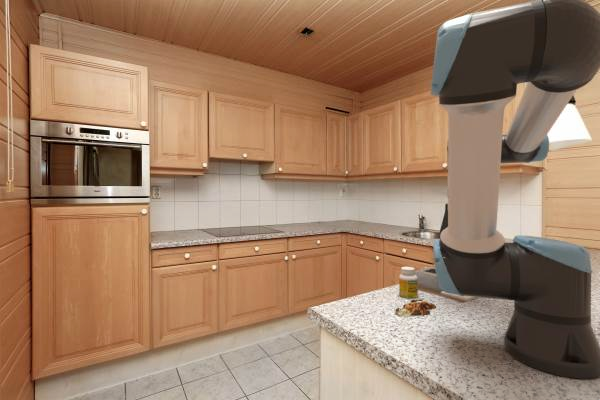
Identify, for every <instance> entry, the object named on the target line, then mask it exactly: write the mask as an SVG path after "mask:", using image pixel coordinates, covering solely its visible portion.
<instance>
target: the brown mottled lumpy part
mask: <svg viewBox="0 0 600 400" xmlns="http://www.w3.org/2000/svg"><path fill="white" fill-rule="evenodd" d="M435 309H437V305H435V304H434V303H432V302H428V301H427V300H426V299H425V298H423V297H421V298H415V299H410V302H406V303H404V304H403V306H402V307H396V308H395V311H394V315H397V316H403V318H410V317H411V316H412V314H413V315H414V314H419V313H420V315H421V317H425V315H426V316H430V315H431V310H435Z"/></svg>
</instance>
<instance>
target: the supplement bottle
mask: <svg viewBox="0 0 600 400" xmlns="http://www.w3.org/2000/svg"><path fill="white" fill-rule="evenodd" d="M415 270H416V269H415V267H413V266H402V267H400V272H401V274H399V276H398V282H399V283H398V286H399V287H398V289H399V296H400V297H401V298H402V299H403V298H404V299H410V300H413V299H415V300H416V299H418V298H419V297H418V296H419V295H418V294H419V293H418V291H419V290H418V280H417V276H416V275H415V274H414V273H415Z"/></svg>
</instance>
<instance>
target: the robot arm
mask: <svg viewBox="0 0 600 400" xmlns="http://www.w3.org/2000/svg"><path fill="white" fill-rule="evenodd" d="M432 68H433V69H432V77H431V85H430V86H431V87H430V95H432V96H435V97H437V96H438V99H439V104H438V105H439V106H440V108H442V109H443V110H444V111H445V112H447V114H448V119H447V122H448V123H447V126H448V127H447V128H448V129H447V133H448V134H447V136H448V139H447V144H446V153H447V157H446V158H447V159H446V161H447V203H445V204H444V205H445V207H444V214H443V216H442V221H441V225H440V229H439V237H440V238H438V239H434V240H433V242H432V246H433V258H434V267H435V269H436V275H437V280H438V284H439V287H440V288H441V289H442V290H443V291H444V292H446V293H450V294H456V295H460V296H464V295H465V296H474V297H476V298H484V299H485V298H486V299H493V300H494V299H496V300H504V301H513V302H514V303H513V304H514V307H513V309H514V310H513V312H512V316H511V319H510V321H509V324H508V326H507V327H506V331H505V333H504V339H503V340H504V341H503V342H504V346H503V347H504V349H505V351H506V352H507V353H508V354H509V355H511V357H513V358H514V359H516V360H518V361H519V362H520V363H523V364H524V365H527V366H529V367H532V368H533V369H536V370H539V371H541V372H544V373H548V374H552V375H555V376H560V377H566V378H573V379H584V380H585V379H596V378H599V377H600V344H599V342H598V339H597V337H596V335H595V332H594V329H593V328H592V274H593V270H592V263H591V255H590V251H588V249H587V248H585V247H584V246H582V245H580V244H577V243H573V242H569V241H564V240H558V239H553V238H548V237H540V236H534V235H533V236H532V235H519V234H517V235H514V237H513V239H512V242H506V240H505V236H504V235H503V234H502V233H501V232H500V231H499V230H497V223H498V210H499V209H498V208H499V192H500V181H501V180H500V176H501V165H502V164H521V163H524V164H528V163H532V162H541V161H544V160H545V159H547V157H548V154H549V153H548V152H549V149H550V140H549V136H548V134H549V132H550V131H551V129H552V128H553V126H554V124H556V122H557V120H558V118H560V116H561V115H562V113H563V111H564V110H565V108H566V107H567V105H568V104H569V102H570V100H572V99H573V96H574V94H575V93H576V92H577V90H580V89H581V88H584V87H585V86H586V85H588V84H589V83H590V82H591V81H592V80H593V79H594V78H595V76H596V75H597V73H598V72H599V70H600V12H599V11H598V10H597V9H596V8H595V7H594V6H592V5H591V4H590V3H588V2H587V1H585V0H530V1H525V2H521V3H520V2H519V3H515V4H511V5H505V6H502V7H496V8H492V9H488V10H487V9H486V10H483V11H477V12H472V13H468V14H465V15H463V16H459V17H455V18H452V19H450V20H447V21H445V22H444V23H443V24H442V25H440V27H439V29H438V30H437V34H436V42H435V51H434V60H433V67H432ZM523 83H526V86H525V88H524V90H523V93H522V96H521V98H520V100H519V103H518V106H517V108H516V109H515V112H514V115H513V117H512V119H511V122H510V125H509V127H508V129H507V132H506V134H503V132H504V130H503V129H504V116H505V115H504V114H505V108H506V106H508V104H509V103H511V102H512V101H513V100H514V99H515V98H516V96H517V89H518V88H517V87H518V84H523Z"/></svg>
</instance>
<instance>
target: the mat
mask: <svg viewBox="0 0 600 400" xmlns="http://www.w3.org/2000/svg"><path fill="white" fill-rule="evenodd" d="M441 294H443V295H447V296H450V297H454V298H457V299H461V300H465V301H466V302H468V300H469V301H471V300H474V299H476V298H477V297H474V296H465V295H464V296H460V295H456V294H450V293H446V292H444V291H442V292H441ZM473 298H474V299H473Z"/></svg>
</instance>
